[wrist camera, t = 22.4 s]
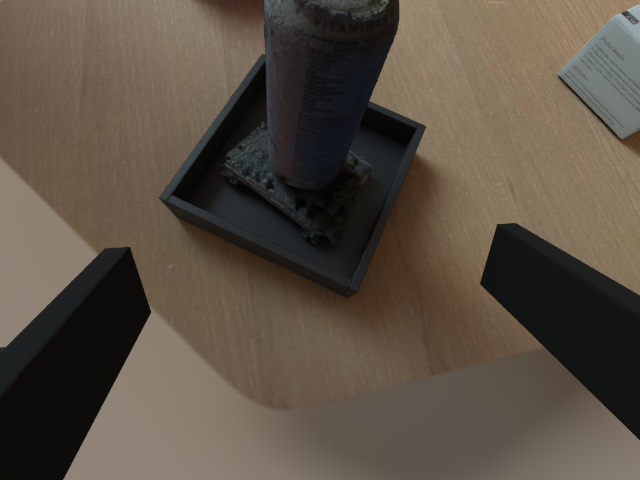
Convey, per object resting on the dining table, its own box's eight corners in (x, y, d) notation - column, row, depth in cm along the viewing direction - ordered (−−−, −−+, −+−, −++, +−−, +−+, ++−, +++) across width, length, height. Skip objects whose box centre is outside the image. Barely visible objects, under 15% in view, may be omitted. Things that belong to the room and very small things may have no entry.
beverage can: (380, 159, 21) (488, -51, 10) (334, 256, 19) (405, 127, 7) (263, 104, 21) (235, -159, 10) (202, 192, 19) (75, -25, 8)
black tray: (174, 215, 19) (158, 197, 17) (264, 83, 23) (262, 53, 21) (348, 298, 19) (357, 292, 16) (411, 149, 23) (426, 125, 20)
